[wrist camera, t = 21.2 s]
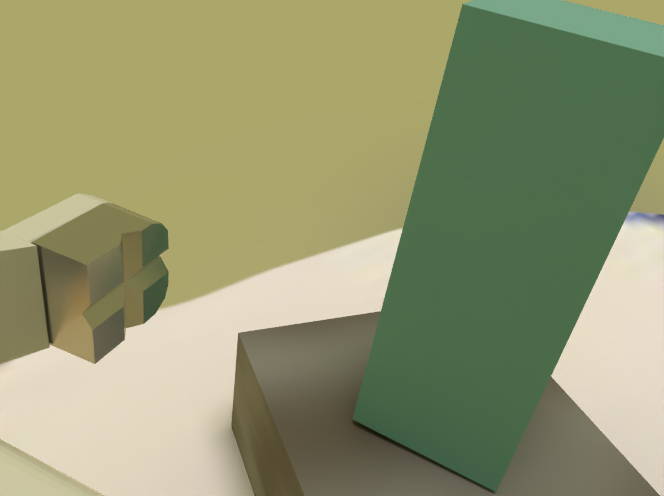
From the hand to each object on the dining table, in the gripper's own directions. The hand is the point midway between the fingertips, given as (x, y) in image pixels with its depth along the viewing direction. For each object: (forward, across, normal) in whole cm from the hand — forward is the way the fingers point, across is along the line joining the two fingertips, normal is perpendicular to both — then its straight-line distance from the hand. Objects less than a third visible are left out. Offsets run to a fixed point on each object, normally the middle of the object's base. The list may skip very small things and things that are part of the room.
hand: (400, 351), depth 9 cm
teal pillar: (+8, 0, +8) cm, 12 cm away
